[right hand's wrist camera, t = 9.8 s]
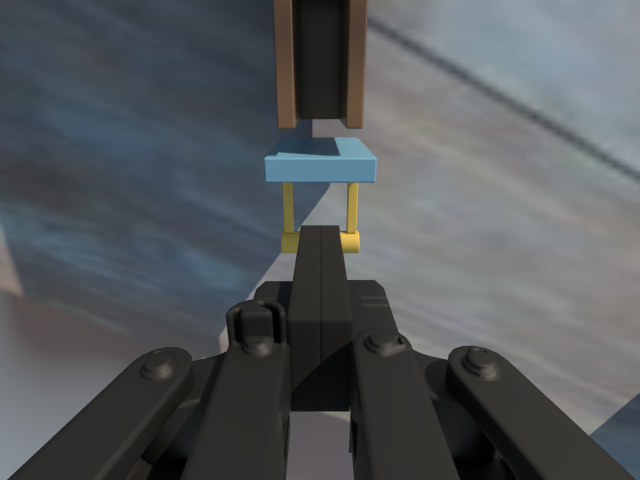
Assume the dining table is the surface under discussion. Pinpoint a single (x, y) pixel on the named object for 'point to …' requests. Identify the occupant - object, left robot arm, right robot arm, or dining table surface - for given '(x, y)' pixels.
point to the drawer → (320, 103)
